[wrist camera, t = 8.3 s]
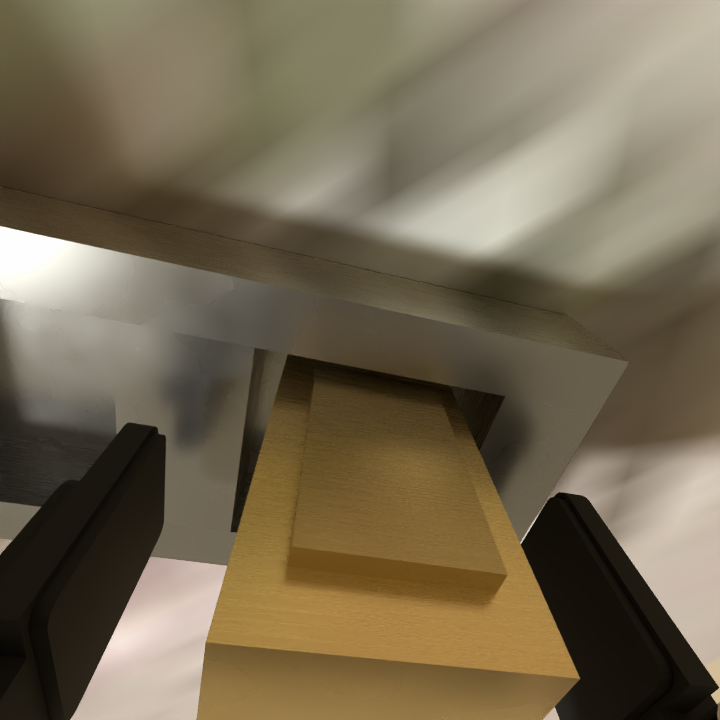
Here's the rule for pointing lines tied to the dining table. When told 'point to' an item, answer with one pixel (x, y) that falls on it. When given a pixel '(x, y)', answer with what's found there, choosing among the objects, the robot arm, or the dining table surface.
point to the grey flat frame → (250, 361)
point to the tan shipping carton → (377, 568)
